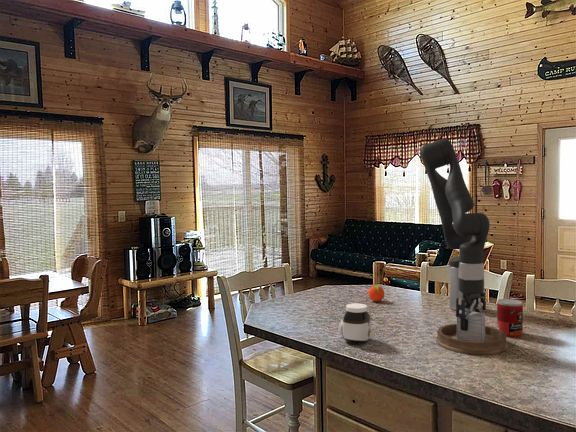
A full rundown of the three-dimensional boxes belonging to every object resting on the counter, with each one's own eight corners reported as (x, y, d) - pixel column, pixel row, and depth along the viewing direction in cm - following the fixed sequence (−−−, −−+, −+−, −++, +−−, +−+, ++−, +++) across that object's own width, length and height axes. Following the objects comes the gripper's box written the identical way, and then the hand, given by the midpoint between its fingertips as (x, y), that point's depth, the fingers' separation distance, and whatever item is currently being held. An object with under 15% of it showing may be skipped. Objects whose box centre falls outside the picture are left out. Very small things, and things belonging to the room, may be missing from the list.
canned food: (512, 339, 155) (512, 305, 154) (491, 332, 162) (491, 300, 161) (528, 335, 158) (528, 302, 157) (507, 329, 165) (507, 297, 164)
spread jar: (362, 347, 150) (361, 310, 149) (329, 341, 156) (329, 306, 155) (376, 336, 160) (375, 302, 159) (345, 332, 166) (344, 298, 165)
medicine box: (485, 339, 151) (485, 312, 151) (482, 343, 147) (482, 316, 147) (459, 336, 155) (459, 309, 155) (456, 340, 152) (456, 313, 151)
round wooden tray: (458, 329, 166) (457, 319, 166) (519, 343, 150) (519, 332, 150) (423, 343, 152) (423, 332, 152) (487, 360, 136) (487, 348, 136)
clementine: (386, 303, 204) (386, 287, 204) (370, 304, 204) (370, 287, 204) (383, 299, 212) (382, 283, 212) (367, 299, 212) (367, 283, 212)
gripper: (471, 272, 157) (471, 320, 158) (448, 278, 148) (448, 329, 149) (493, 275, 152) (493, 325, 153) (471, 281, 142) (471, 335, 143)
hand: (471, 327), depth 151 cm, fingers open, 8 cm apart
